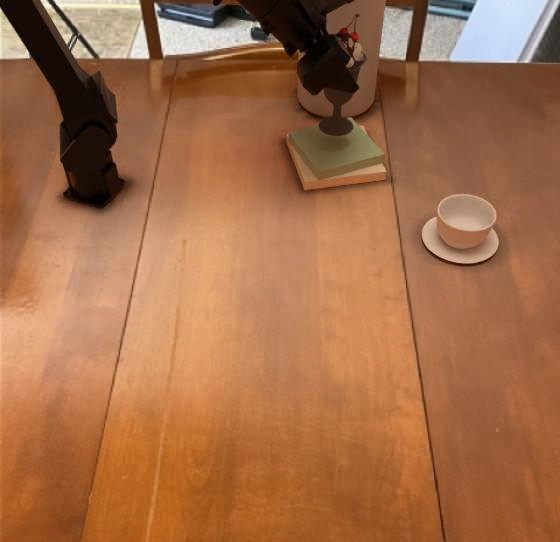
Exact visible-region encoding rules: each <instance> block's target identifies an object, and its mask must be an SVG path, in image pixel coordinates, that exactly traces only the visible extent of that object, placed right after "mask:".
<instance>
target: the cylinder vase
mask: <svg viewBox="0 0 560 542" xmlns="http://www.w3.org/2000/svg"><path fill="white" fill-rule="evenodd" d="M386 3H387V0H354V1H353V2H351V3H350V4H345V5H343V6H341V7H339V8H337V9H336V10H334V11H332V12H330V13H328V14H327V17H326V20H327V22H326V30H327V31H328V33H329V34H337V33H338V32H339V31H340V30H341V28H343V27H344V28H346V27H347V26H348V25H349V24H350V23H351V22H352V21H353V19H354V17H355V14H360V16H359V17H358V18H357V21H356V17H355V19H354V21H353V22H352V24H351V25H350V26H349V27H348V28H347V29H348V33H349V34H350V33H352V32H354V25H355V21H356V26H355V30H356V33H357V34H358V35H359V38H358V40H357V41H358V42H359V43H360V45H361V46H362V49H363V53H364V54H365V55H366V56H367V60H366V62H365V63H364V64H363V65H362V66H361V68H360V72H359V75H358V80H357V84H358V85H359V89H358V90H357V91H356V92H355V93H354V94H353V97H352V98H351V99H350V100H349V101H348V102H347V103H345V104H343V105H342V109H341V115H342V117H344V118H350V117H351V118H353V117H356V116H359V115H361V114H363V113H364V112H366V111H367V110H368V109H370V107H372V105H373V103H374V101H375V95H376V88H377V80H378V79H377V78H378V71H379V70H378V69H379V62H380V53H381V46H382V36H383V30H384V29H383V28H384V19H385V12H386V5H387V4H386ZM297 52H298V56H297V57H298V58H297V62H298V61H299V60H300V59H301V58H302V57H303V56H304V55H305V54H306V53H304V54H303V55H302V54H301V53H300V51H299V50H298V51H297ZM297 100H298V102H299V104H300V105H301V106H302V107H303V108H304V109H305V110H306V111H308V112H309V113H311V114H313V115H316V116H318V117H321V118H326V117H329V116H332V115H333V104H332V103H330V102H329V101H328V100H327V98H326V97H325V95H324V89H323V90H322V91H321V92H320V93H319V94H318V95H315V96H312V95H311V94H310V93H309V92H308V91H307V90H306V89H305V88H304V87H303V86H302V84H301V81H300V79H299V77H298V76H297Z"/></svg>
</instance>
